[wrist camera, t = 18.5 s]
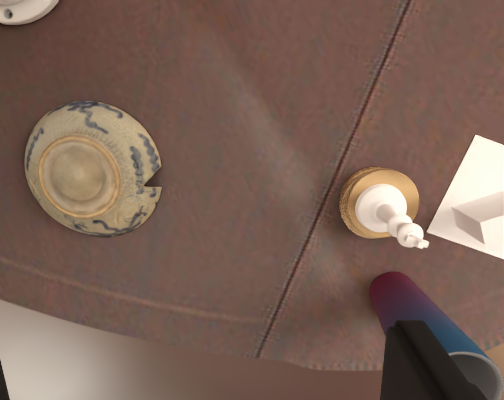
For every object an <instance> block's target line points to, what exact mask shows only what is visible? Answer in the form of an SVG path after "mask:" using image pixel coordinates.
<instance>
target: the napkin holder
mask: <svg viewBox="0 0 504 400" xmlns="http://www.w3.org/2000/svg"><path fill="white" fill-rule="evenodd" d="M427 233H430V234H433V235H436V236H439V237H442V238H445V239H447V240H450V241H453V242H456V243H459V244H462V245H465V246H467V247H470V248H473V249H476V250H479V251H482V252H484V253H487V254H490V255H493V256H496V257H499V258H502V259H504V145H502V144H499V143H497V142H494V141H491V140H488V139H486V138H483V137H480V136H477V135H475V137H474V139H473V141H472V143H471V145H470V147H469V149H468V151H467V153H466V155H465V157H464V159H463V161H462V163H461V165H460V167H459V169H458V171H457V173H456V175H455V177H454V179H453V181H452V183H451V185H450V186H449V188H448V190H447V192H446V194H445V196H444V198H443V200H442V202H441V204H440V206H439V208H438V210H437V212H436V214H435V216H434V218H433V220H432V222H431V224H430V226H429V228H428V230H427Z"/></svg>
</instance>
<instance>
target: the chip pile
mask: <svg viewBox="0 0 504 400" xmlns="http://www.w3.org/2000/svg"><path fill="white" fill-rule="evenodd" d="M376 184H389V185H392V186H394V187H396V188H397V189H398V190H399V191H400V192H401V193H402V194H403V196H404V198H405V200H406V204H407V211H406V215H407V216H409V217H410V218H411V220H412V221H413V219H414V218H415V216H416V214H417V211H418V206H419V195H418V191H417V189H416V187H415V185H414V183H413V182H412V181H411V180H410V179H409V178H408V177H407V176H405V175H404V174H402V173H400V172H398V171H396V170H393V169H388V168H381V167H369V168H365V169H362V170H360V171H358V172H356V173H354V174H353V175H352V176H351V177H350V178H349V179H348V180H347V181H346V182H345V184H344V186H343V188H342V190H341V193H340V203H339V209H340V214H341V217H342V219H343V221H344V223H345V224H346V226H347V227H348V228H349V229H350V230H351V231H352V232H353V233H355V234H357V235H359V236H361V237H365V238H372V239H373V238H381V237H389V236H392V235H390V234H389V232H388V231H387V232H373V231H370V230H368V229H367V228H365V227H364V226H362V225H361V224H360V222H359V221H358V219H357V217H356V213H355V206H356V202H357V199H358V197H359V196H360V194H361V193H362V192H363V191H364V190H365V189H367V188H368V187H370V186H373V185H376Z"/></svg>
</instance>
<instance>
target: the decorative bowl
mask: <svg viewBox="0 0 504 400" xmlns="http://www.w3.org/2000/svg"><path fill="white" fill-rule="evenodd" d="M24 166H25V173H26V178H27V181H28V184H29V187H30V189H31V191H32V193H33V195H34V197H35V198H36V200H37V201H38V203H39V204H40V205H41V207H42V208H43V209H44V210H45V211H46V212H47V213H48V214H49V215H50V216H51V217H53V218H54V219H55V220H57V221H58V222H60V223H61V224H63V225H65V226H66V227H68V228H70V229H73V230H75V231H77V232H81V233H84V234H87V235H91V236H96V237H113V236H118V235H123V233H126V232H130V231H132V230H134V229H136V228H138V227H139V226H140V225H142V224H143V223H144V222H145V221H146V220H147V219H148V217H149V216H150V215H151V214H152V212H153V210H154V208H155V207H156V205H155V203H156V202H157V201H158V200H159V197H160V194H161V190H162V187H146V186H144V185H145V183H146V182H147V181H148V180H149V179H150V178H151V177H152V176H153V175H154V174H155V172H157V170H158V169H159V168H160V167H161V162H160V156H159V153H158V150H157V148H156V146H155V143H154V142H153V140H152V138H151V137H150V135H149V134H148V132H147V131H146V130H145V128H144V127H143V126H142V125H141V124H140V123H139V122H138V121H136V120H135V119H134V118H133V117H131V116H130V115H128V114H127V113H125V112H124V111H122V110H120V109H118V108H116V107H113V106H111V105H108V104H105V103H101V102H96V101H76V102H71V103H67V104H64V105H61V106H58V107H56V108H54V109H53V110H51V111H50V112H48V113H47V114H46V115H44V116H43V117H42V118H41V119H40V120H39V121H38V123H37V124H36V125H35V127H34V128H33V130H32V132H31V134H30V137H29V139H28V141H27V145H26V150H25V158H24Z"/></svg>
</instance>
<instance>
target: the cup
mask: <svg viewBox="0 0 504 400" xmlns="http://www.w3.org/2000/svg"><path fill="white" fill-rule="evenodd" d="M370 299H371V301H372V304H373V306H374V309H375V311H376V314H377V316H378V319H379V321H380V324H381V326H382V329H383V331H384V333H385V336H386V332H387V328H388V327H394V324H395V322H396V321H397V320H423V321H424V322H425V323H426V324H427V326H428V327H429V328H430V330H431V331H432V332H433V334H434V335H435V337H436V338H437V339H438V341H439V342H440V343H441V345H442V346H443V347H444V349H445V350H446V352H447V353H448V354H449V356H450V357H451V358H452V360H453V361H454V362H455V364H456V365H457V367H458V368H459V369H460V371H461V372H462V373H463V375H464V376H465V377H466V379H467V380H468V382H471V383H473V384H475V385H476V386H477V387H478V388H479V389H480V390H481V391H482V393H483V394H484V395H485V397H486V398H487V399H488V400H500V399H501V397H502V394H503V388H504V383H503V377H502V375H501V372H500V370H499V368H498V367H497V366H496V364H494V362H493V361H492V360H491V359H490V358H489V357H488V356H487V355H486V354H484V352H483V351H482V350H481V349H480V348H479V347H478V346H477V345H476V344H475V343H474V342H473V341H472V340H471V339H470V338H469V337H468V336H467V335H466V334H465V333H464V332H463V331H462V330H461V329H460V328H459V327H458V326H457V325H456V324H455V323H454V322H453V321H452V320H451V319H450V318H449V317H448V316H447V315H446V314H445V313H444V312H443V311H442V310H441V309H440V308H439V307H438V306H437V305H436V304H435V303H434V302H433V301H432V300H431V299H430V298H429V297H428V296H427V295H426V294H425V293H424V292H423V291H422V290H420V289H419V288H418V287H417V286H416V285H415V284H414V283H413V282H412V281H411V280H410V279H409V278H408V277H407V276H406V275H404V274H402V273H399V272H388V273H385V274H382V275H380V276H379V277H377V278H376V279H375V280H374V282H373V283H372V285H371V287H370Z"/></svg>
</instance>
